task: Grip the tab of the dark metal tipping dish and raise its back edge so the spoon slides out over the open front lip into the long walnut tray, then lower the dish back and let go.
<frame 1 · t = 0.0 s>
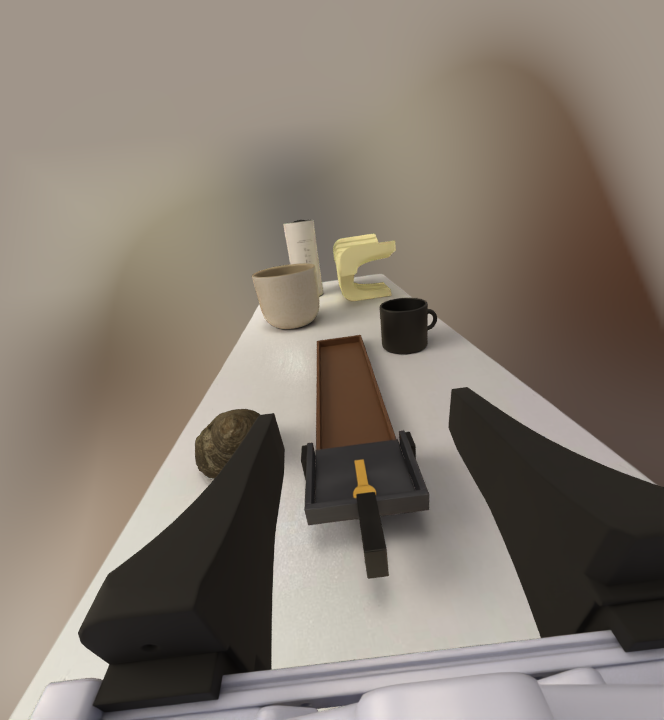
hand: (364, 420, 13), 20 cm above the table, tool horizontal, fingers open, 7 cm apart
spoon: (362, 481, 31), point 3 cm above the table, touching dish
seashell: (240, 450, 44), on the table
mug: (410, 344, 67), on the table
planter: (294, 323, 90), on the table
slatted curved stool: (364, 294, 109), on the table
tray: (346, 389, 54), on the table
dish: (363, 486, 29), point 5 cm above the table, hinge at -0.1°, touching spoon
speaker: (310, 296, 117), on the table
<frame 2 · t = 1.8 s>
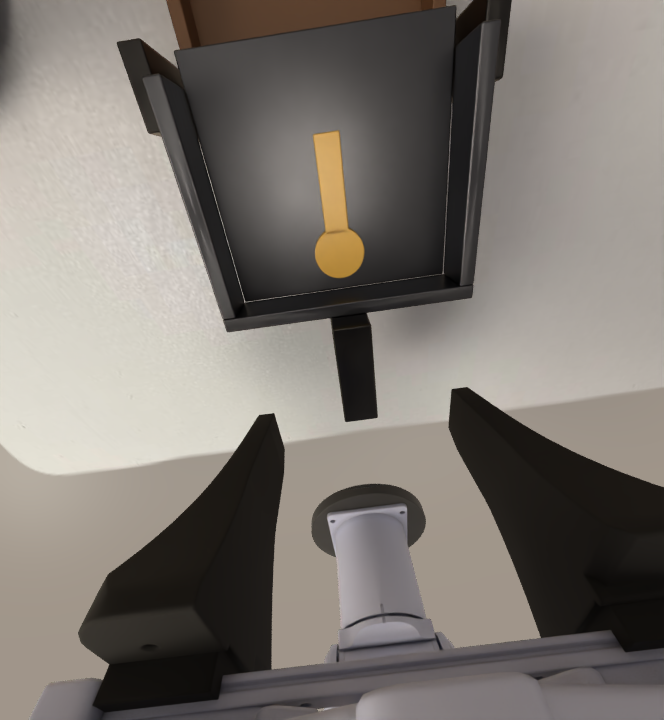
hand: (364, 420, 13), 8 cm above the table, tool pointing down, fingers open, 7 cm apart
spoon: (334, 208, 13), point 3 cm above the table, touching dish
bracket: (317, 90, 14), resting in tray
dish: (341, 258, 13), point 5 cm above the table, hinge at -0.1°, touching spoon
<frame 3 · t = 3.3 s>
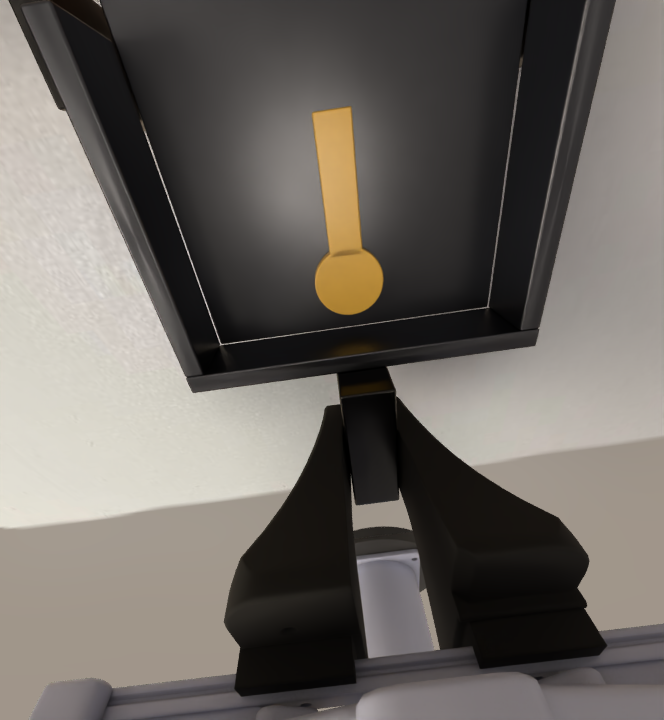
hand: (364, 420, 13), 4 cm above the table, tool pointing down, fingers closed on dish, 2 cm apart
spoon: (342, 220, 9), point 3 cm above the table, touching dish
bracket: (317, 56, 10), resting in tray
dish: (352, 292, 9), point 5 cm above the table, hinge at -0.1°, touching gripper, spoon
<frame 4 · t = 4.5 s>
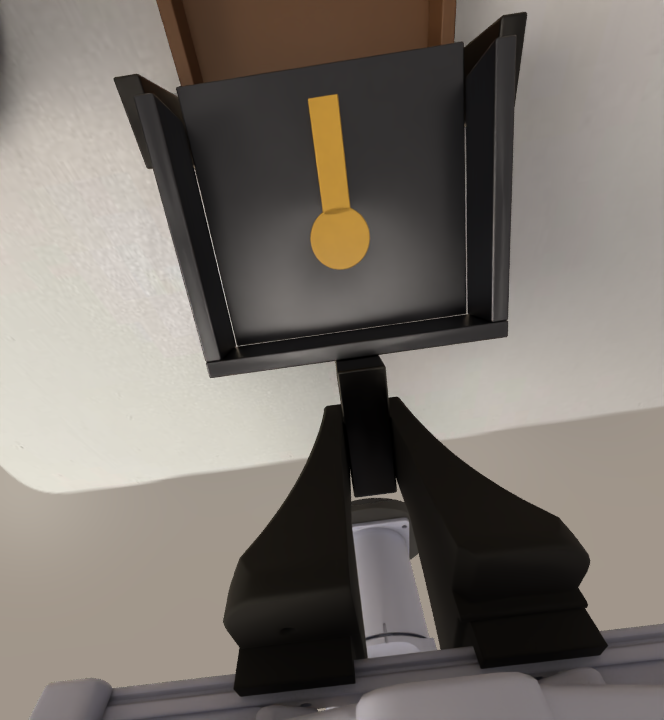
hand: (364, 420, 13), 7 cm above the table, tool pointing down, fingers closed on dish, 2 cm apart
spoon: (333, 186, 11), point 4 cm above the table, tilted 14°
bracket: (320, 116, 14), resting in tray
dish: (348, 291, 11), point 6 cm above the table, hinge at 13.8°, touching gripper
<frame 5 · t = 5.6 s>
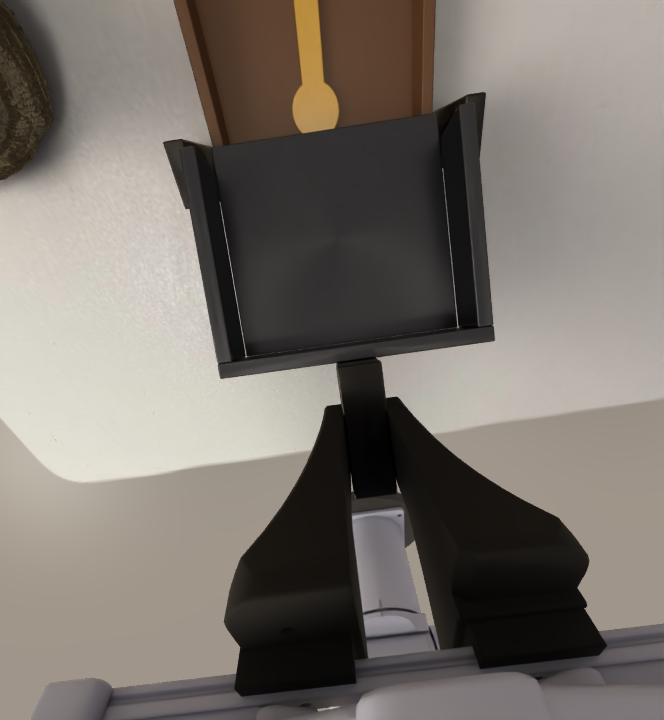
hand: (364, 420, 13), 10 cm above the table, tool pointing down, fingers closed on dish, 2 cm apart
spoon: (311, 61, 14), resting on tray
bracket: (323, 158, 16), resting in tray
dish: (347, 302, 13), point 7 cm above the table, hinge at 24.7°, touching gripper
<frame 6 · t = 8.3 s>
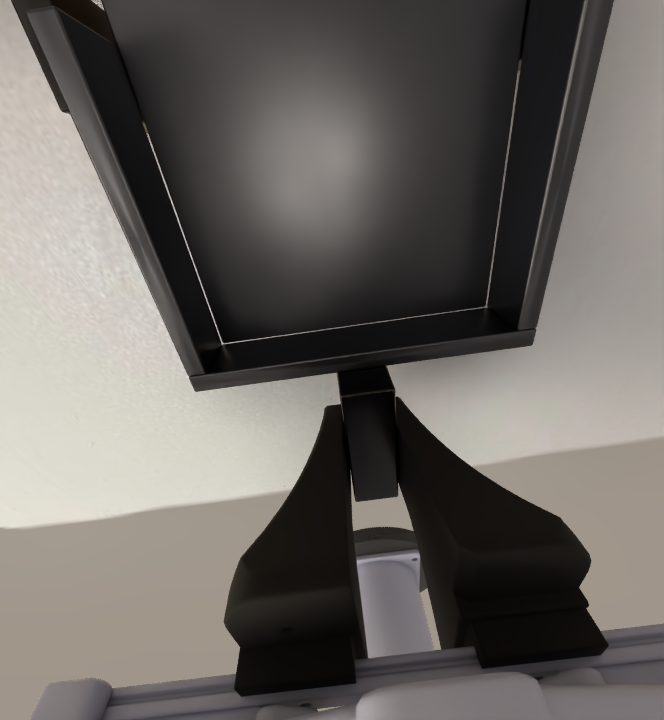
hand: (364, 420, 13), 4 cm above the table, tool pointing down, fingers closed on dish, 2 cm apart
bracket: (318, 58, 10), resting in tray
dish: (352, 292, 9), point 5 cm above the table, hinge at -0.8°, touching gripper
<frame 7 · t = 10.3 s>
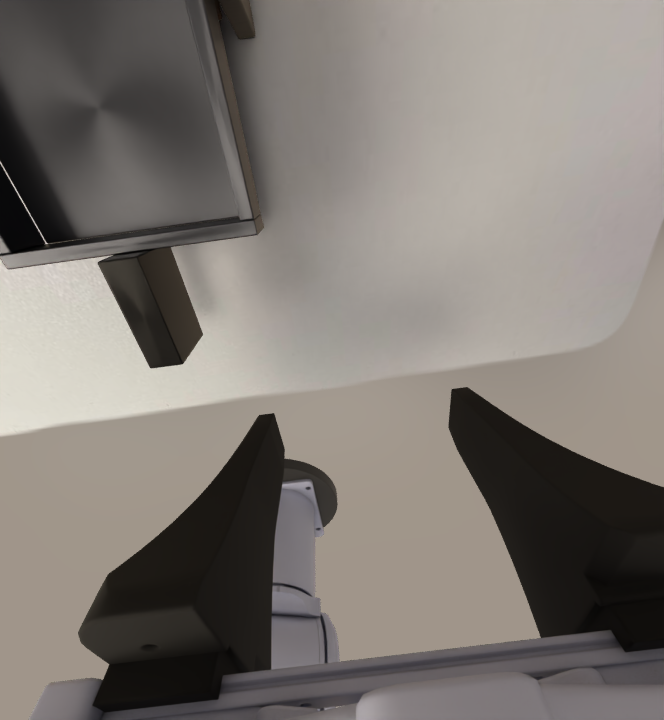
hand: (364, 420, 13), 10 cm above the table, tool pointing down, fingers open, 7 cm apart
bracket: (105, 20, 13), resting in tray
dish: (114, 190, 13), point 5 cm above the table, hinge at -0.2°
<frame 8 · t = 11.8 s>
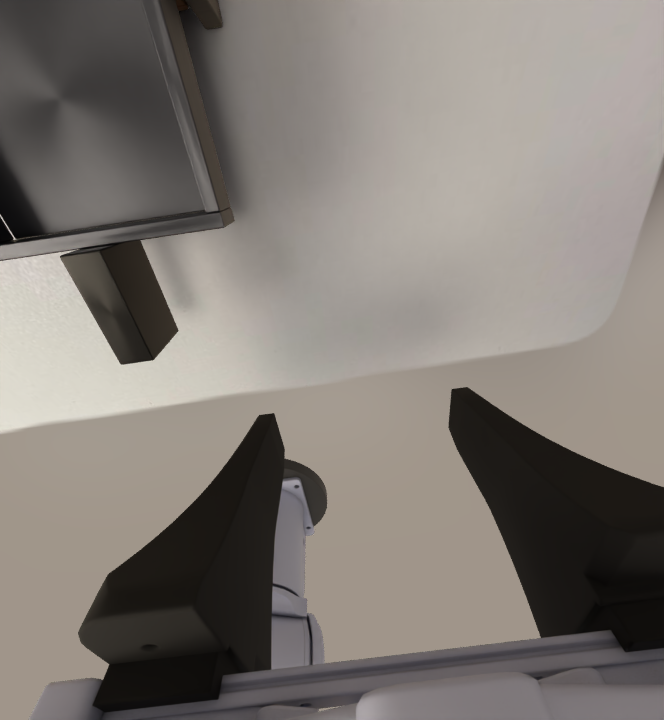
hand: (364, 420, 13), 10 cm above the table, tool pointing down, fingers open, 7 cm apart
bracket: (69, 11, 13), resting in tray
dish: (77, 183, 12), point 5 cm above the table, hinge at -0.2°
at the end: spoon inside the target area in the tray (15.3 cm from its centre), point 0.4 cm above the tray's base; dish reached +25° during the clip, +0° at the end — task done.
